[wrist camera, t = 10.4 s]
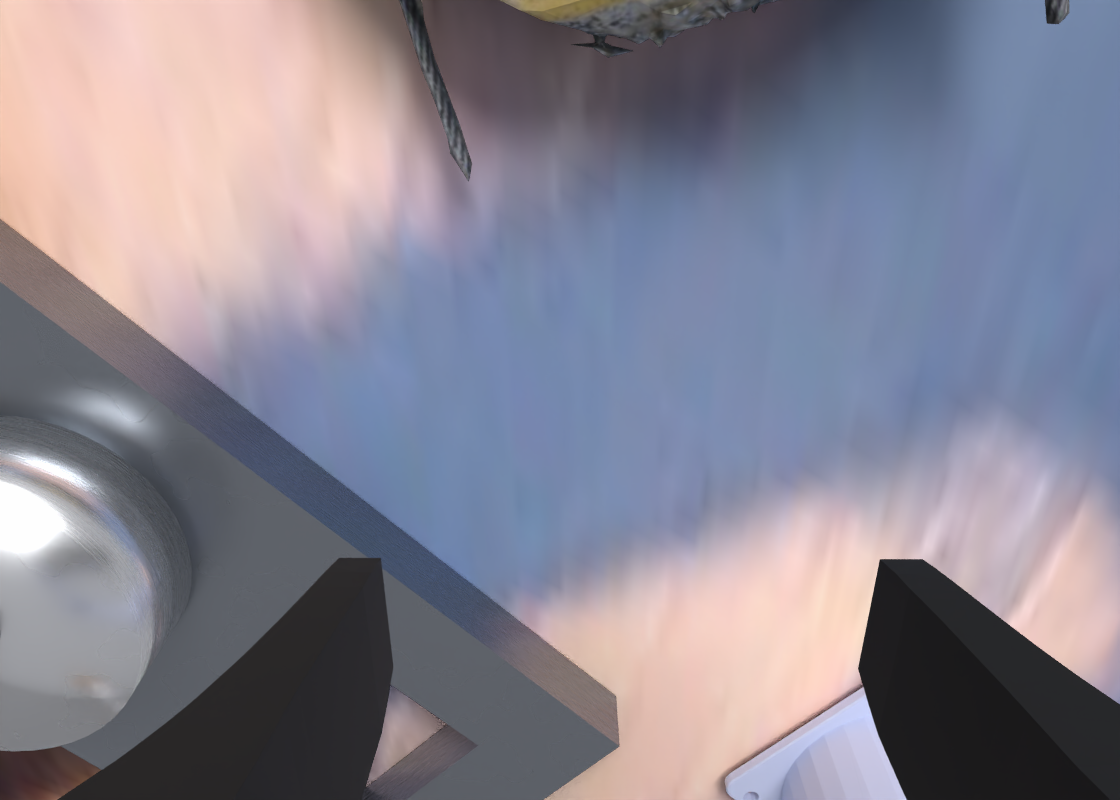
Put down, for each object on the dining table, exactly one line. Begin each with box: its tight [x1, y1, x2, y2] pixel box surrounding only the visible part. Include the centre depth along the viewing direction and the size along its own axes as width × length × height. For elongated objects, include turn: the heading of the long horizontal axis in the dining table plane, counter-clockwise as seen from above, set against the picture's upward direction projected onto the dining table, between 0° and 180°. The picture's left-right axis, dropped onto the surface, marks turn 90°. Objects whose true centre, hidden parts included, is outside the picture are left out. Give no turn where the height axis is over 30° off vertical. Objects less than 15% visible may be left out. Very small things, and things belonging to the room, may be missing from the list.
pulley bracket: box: [0, 219, 619, 800], centre depth 22 cm, size 22×12×6 cm, turn 45°
